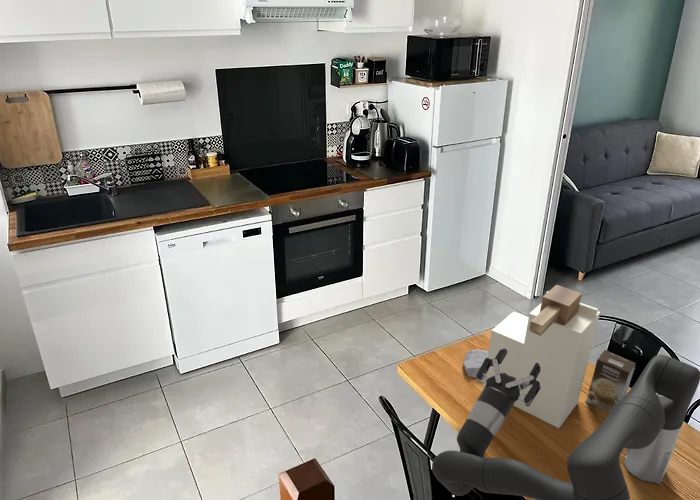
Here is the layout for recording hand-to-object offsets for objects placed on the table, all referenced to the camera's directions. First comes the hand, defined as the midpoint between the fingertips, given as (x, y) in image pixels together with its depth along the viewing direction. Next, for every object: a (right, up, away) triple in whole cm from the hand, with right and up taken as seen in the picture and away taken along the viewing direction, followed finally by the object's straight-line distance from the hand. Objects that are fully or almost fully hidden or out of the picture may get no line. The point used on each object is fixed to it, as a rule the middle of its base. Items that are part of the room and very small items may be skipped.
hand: (521, 356), depth 133 cm
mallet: (+11, +7, +10) cm, 16 cm away
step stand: (+12, -18, +31) cm, 38 cm away
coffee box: (+34, -20, +28) cm, 48 cm away
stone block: (0, -12, +44) cm, 46 cm away
